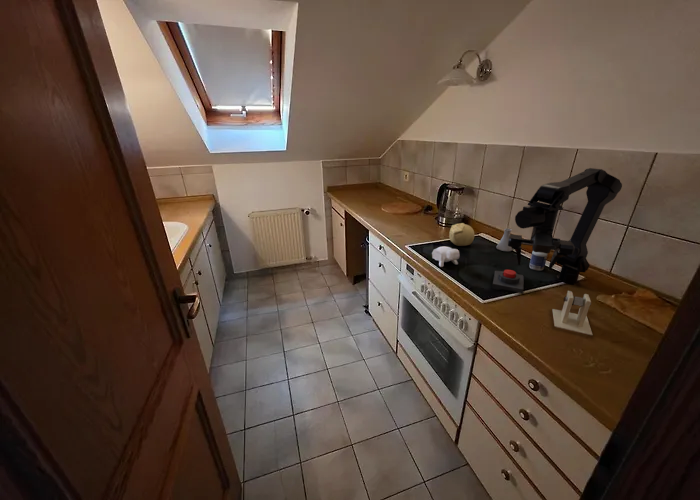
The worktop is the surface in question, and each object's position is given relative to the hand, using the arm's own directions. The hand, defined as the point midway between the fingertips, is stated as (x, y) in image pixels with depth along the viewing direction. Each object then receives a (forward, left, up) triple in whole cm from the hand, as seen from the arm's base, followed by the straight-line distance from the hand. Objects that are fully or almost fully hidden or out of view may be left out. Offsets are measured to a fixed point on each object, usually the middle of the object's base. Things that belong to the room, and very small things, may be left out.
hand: (533, 266), depth 103 cm
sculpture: (-38, -30, -11) cm, 50 cm away
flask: (-40, -10, -11) cm, 43 cm away
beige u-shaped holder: (+15, +11, -10) cm, 21 cm away
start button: (-3, -7, -7) cm, 10 cm away
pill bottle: (-23, +3, -11) cm, 26 cm away
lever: (+11, +11, -6) cm, 17 cm away
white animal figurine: (-12, -32, -11) cm, 35 cm away
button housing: (-3, -7, -10) cm, 13 cm away
